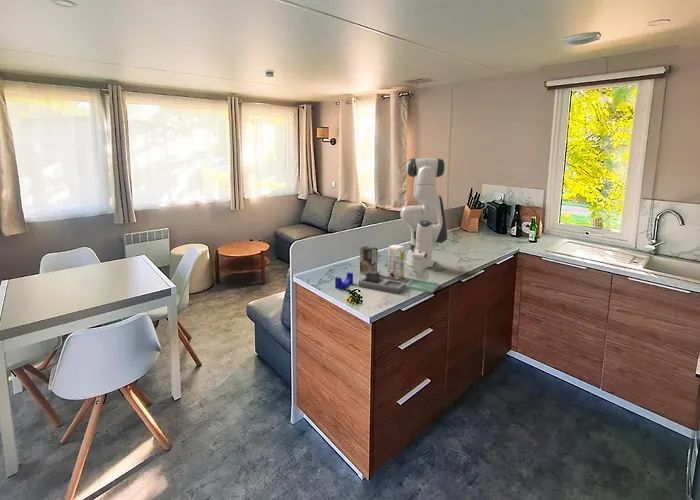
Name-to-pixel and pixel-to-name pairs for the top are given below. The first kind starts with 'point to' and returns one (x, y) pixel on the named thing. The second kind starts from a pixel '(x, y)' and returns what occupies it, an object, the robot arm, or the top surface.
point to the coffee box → (368, 259)
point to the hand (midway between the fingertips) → (422, 275)
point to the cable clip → (346, 283)
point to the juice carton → (396, 261)
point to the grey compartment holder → (381, 283)
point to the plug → (423, 275)
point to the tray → (422, 285)
